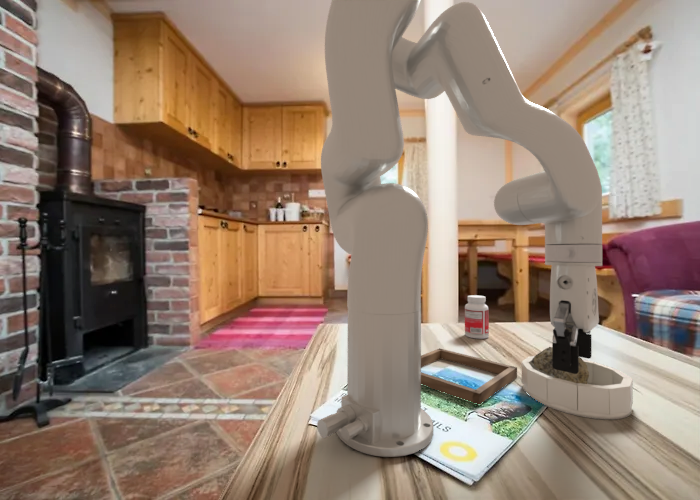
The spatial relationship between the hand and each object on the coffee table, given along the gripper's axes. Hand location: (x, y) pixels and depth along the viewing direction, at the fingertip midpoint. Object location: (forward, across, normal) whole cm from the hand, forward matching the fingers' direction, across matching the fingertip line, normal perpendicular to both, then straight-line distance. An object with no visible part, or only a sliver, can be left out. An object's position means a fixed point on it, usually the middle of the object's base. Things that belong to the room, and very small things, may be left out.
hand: (572, 363), depth 50 cm
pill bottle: (+6, +25, +27) cm, 37 cm away
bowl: (+5, 0, 0) cm, 5 cm away
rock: (+3, 0, +3) cm, 4 cm away
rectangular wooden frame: (+5, -6, +17) cm, 19 cm away
